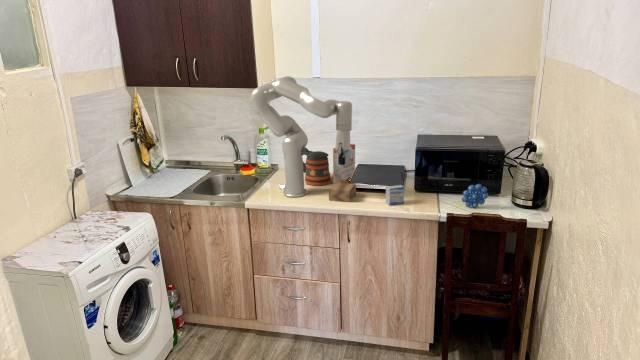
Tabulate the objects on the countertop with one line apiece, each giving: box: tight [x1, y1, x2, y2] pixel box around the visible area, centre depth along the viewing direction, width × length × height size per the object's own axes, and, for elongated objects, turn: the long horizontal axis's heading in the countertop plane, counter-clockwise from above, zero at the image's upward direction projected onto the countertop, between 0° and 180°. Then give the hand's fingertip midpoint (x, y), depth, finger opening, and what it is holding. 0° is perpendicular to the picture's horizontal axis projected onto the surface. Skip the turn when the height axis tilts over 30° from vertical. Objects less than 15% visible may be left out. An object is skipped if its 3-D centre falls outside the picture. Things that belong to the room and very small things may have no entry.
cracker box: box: [332, 143, 356, 185], centre depth 261 cm, size 14×6×21 cm, turn 143°
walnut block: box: [328, 182, 357, 203], centre depth 240 cm, size 11×11×6 cm
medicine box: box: [385, 184, 405, 206], centre depth 230 cm, size 8×4×9 cm, turn 105°
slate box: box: [337, 150, 350, 166], centre depth 234 cm, size 5×5×7 cm
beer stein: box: [301, 146, 332, 187], centre depth 264 cm, size 19×15×20 cm
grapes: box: [461, 183, 489, 209], centre depth 221 cm, size 12×7×12 cm, turn 74°
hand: (343, 162), depth 235 cm, fingers closed on slate box, 5 cm apart
